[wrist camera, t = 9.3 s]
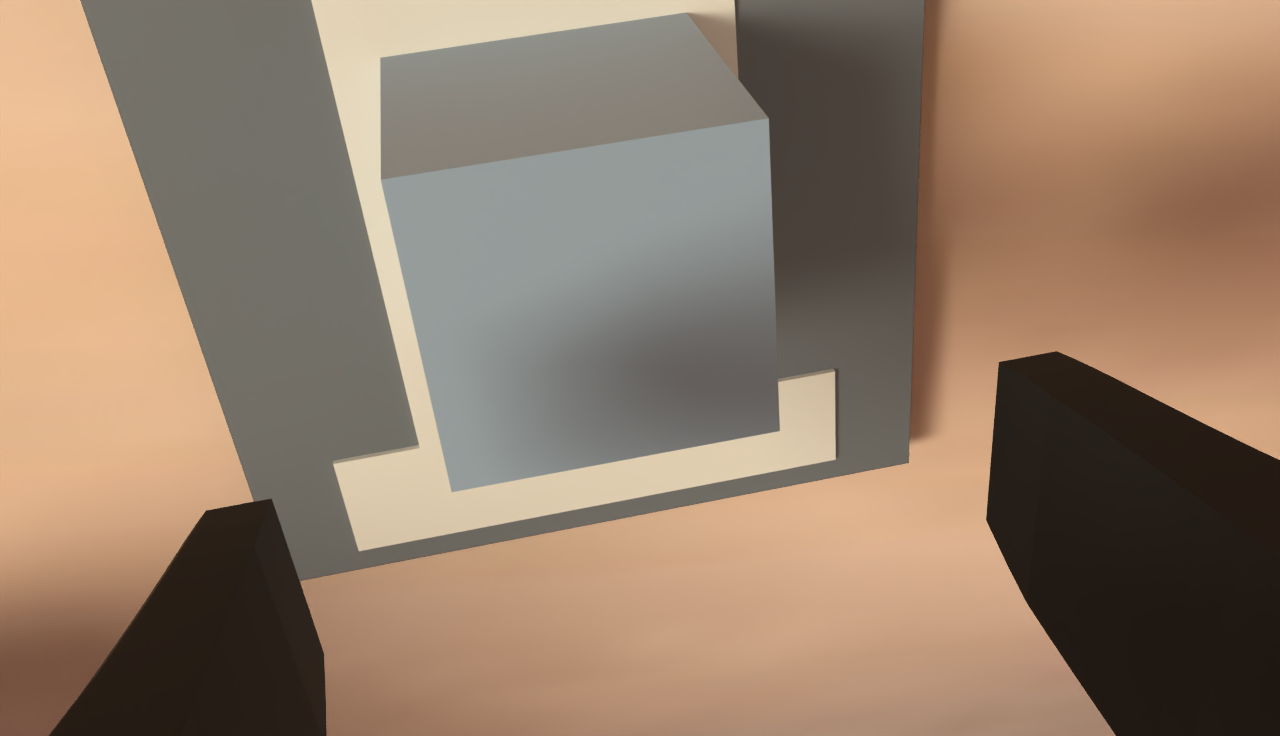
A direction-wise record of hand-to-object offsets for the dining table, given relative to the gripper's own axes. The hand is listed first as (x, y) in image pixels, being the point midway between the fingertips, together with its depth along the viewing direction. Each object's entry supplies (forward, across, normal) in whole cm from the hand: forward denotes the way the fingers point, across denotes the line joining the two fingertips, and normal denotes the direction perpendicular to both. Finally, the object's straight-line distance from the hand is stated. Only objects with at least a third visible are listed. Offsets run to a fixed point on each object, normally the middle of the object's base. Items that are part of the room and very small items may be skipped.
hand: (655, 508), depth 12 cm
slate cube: (+8, 0, 0) cm, 8 cm away
